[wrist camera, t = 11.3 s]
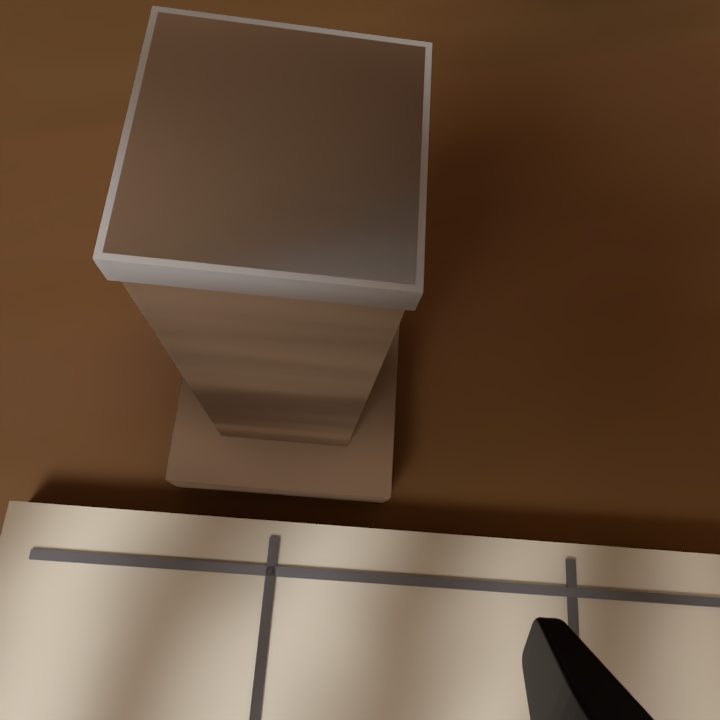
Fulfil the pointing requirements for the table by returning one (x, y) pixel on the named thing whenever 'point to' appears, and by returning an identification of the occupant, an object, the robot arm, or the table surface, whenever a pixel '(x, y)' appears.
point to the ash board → (328, 619)
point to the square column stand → (274, 243)
